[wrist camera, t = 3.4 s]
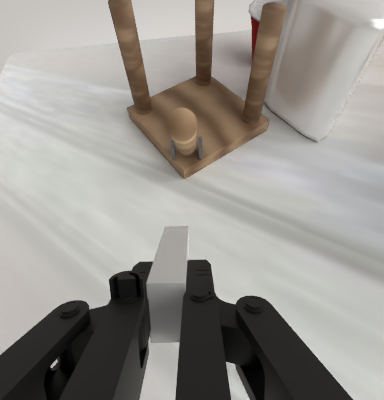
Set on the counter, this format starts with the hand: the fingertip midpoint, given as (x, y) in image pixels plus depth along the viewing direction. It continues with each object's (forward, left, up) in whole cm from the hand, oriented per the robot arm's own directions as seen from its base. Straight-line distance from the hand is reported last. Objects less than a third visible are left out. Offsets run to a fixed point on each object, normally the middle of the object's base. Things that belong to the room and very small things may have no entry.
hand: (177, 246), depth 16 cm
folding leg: (+23, -6, -16) cm, 29 cm away
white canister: (+30, -35, -21) cm, 50 cm away
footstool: (+33, -11, -21) cm, 40 cm away
